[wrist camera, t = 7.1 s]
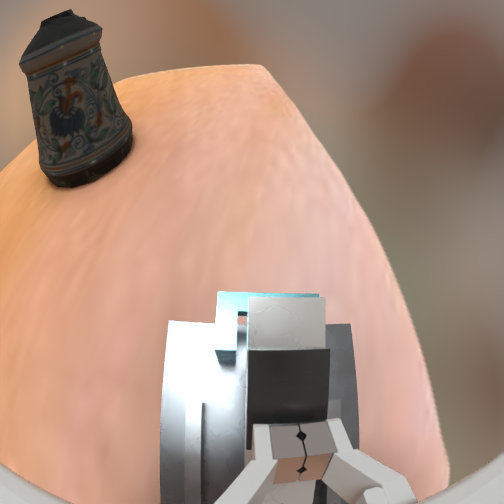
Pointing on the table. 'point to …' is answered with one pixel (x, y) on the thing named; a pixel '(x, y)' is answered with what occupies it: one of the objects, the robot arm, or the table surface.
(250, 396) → the silver long bar
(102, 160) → the beer stein
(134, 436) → the table surface
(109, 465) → the table surface
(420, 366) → the table surface
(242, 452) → the grey mechanical fixture
